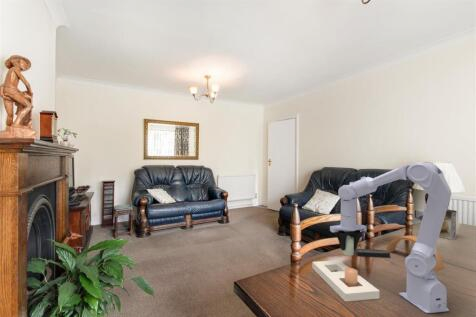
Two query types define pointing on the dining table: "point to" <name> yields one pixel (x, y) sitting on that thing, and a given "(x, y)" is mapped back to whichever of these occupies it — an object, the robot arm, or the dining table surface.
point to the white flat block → (337, 281)
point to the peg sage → (349, 246)
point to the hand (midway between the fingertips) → (348, 249)
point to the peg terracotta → (351, 277)
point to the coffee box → (449, 225)
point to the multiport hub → (372, 253)
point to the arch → (394, 242)
